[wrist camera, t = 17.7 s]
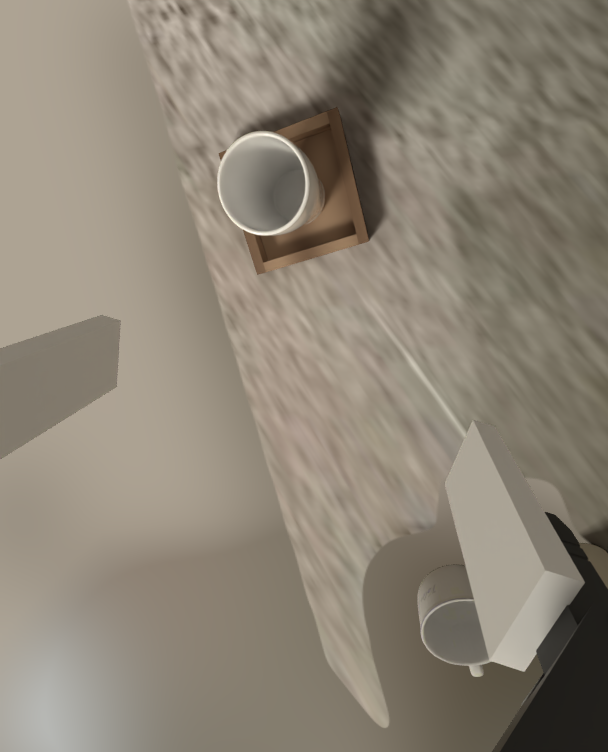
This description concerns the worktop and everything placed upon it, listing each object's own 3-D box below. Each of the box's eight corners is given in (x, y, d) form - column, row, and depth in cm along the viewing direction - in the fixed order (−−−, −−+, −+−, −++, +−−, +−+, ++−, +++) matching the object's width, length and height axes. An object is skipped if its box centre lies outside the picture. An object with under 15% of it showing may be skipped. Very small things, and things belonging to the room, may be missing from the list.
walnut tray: (340, 115, 40) (337, 107, 37) (369, 240, 43) (368, 241, 40) (228, 158, 43) (218, 153, 40) (264, 271, 46) (257, 274, 43)
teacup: (413, 550, 56) (419, 600, 48) (498, 552, 54) (518, 604, 46) (417, 625, 60) (423, 682, 53) (496, 630, 58) (513, 689, 51)
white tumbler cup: (264, 164, 42) (208, 135, 28) (331, 157, 40) (306, 122, 26) (271, 235, 44) (222, 240, 30) (334, 230, 43) (313, 233, 29)
